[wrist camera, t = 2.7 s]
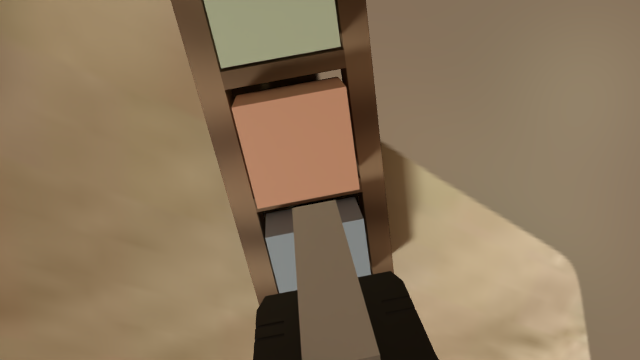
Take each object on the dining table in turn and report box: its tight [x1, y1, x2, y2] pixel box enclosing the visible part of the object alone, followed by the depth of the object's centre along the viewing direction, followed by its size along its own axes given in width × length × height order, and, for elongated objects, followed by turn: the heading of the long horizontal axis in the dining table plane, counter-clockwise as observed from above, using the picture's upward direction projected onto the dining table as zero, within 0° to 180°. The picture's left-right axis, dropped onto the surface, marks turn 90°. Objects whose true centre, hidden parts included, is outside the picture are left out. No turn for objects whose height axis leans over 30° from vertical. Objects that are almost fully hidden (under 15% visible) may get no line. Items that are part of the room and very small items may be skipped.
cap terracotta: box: [232, 77, 360, 209], centre depth 23 cm, size 6×6×3 cm
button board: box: [171, 0, 394, 305], centre depth 25 cm, size 24×10×2 cm, turn 9°
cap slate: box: [265, 197, 371, 293], centre depth 27 cm, size 6×6×3 cm
